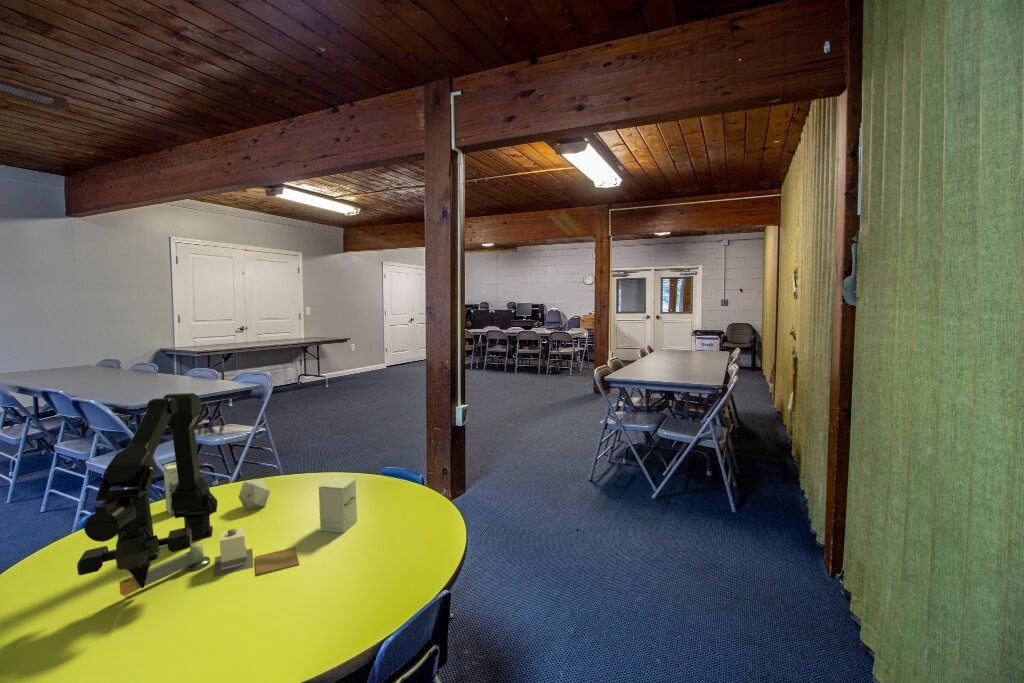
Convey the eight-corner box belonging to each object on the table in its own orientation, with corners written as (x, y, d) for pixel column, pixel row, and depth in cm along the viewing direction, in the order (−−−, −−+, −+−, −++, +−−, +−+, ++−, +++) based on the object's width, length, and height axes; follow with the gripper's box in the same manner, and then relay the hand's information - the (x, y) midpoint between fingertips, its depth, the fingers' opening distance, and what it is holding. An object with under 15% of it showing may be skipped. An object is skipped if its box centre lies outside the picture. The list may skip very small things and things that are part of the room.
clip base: (186, 564, 116) (186, 560, 116) (210, 558, 119) (210, 554, 119) (184, 574, 112) (184, 569, 112) (209, 568, 114) (209, 563, 114)
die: (232, 510, 148) (230, 492, 142) (250, 487, 155) (249, 468, 149) (259, 520, 148) (258, 501, 142) (276, 496, 155) (276, 477, 149)
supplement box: (344, 533, 131) (342, 488, 130) (319, 531, 132) (317, 486, 131) (358, 521, 138) (356, 478, 137) (334, 519, 139) (332, 476, 138)
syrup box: (188, 504, 151) (185, 459, 150) (193, 510, 147) (189, 463, 145) (166, 510, 147) (162, 463, 145) (170, 516, 143) (167, 468, 141)
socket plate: (215, 558, 119) (215, 557, 119) (252, 549, 123) (252, 548, 123) (213, 578, 110) (213, 576, 110) (253, 568, 114) (253, 567, 114)
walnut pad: (255, 558, 118) (255, 556, 118) (295, 549, 123) (295, 546, 123) (256, 577, 110) (256, 574, 110) (299, 565, 115) (299, 563, 115)
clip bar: (200, 556, 117) (199, 541, 117) (206, 559, 116) (205, 544, 116) (119, 593, 103) (117, 576, 102) (125, 596, 101) (123, 579, 101)
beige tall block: (221, 559, 118) (219, 528, 117) (246, 553, 120) (244, 523, 119) (220, 570, 113) (218, 538, 112) (246, 564, 115) (245, 532, 115)
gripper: (64, 547, 90) (75, 625, 92) (184, 520, 100) (192, 591, 101) (80, 524, 100) (90, 594, 101) (188, 501, 109) (195, 566, 111)
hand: (143, 587), depth 103 cm, fingers closed
